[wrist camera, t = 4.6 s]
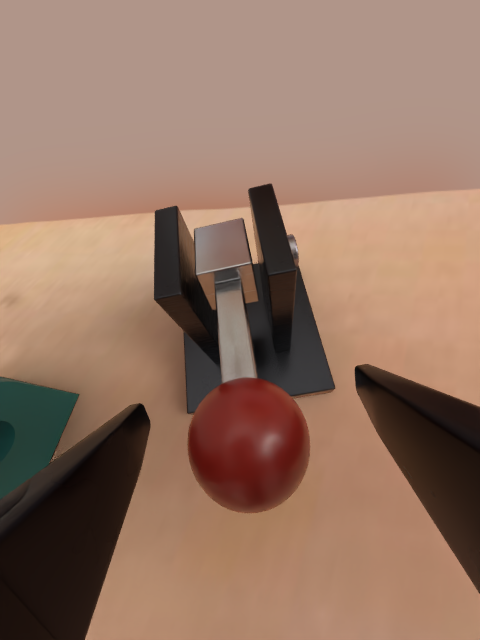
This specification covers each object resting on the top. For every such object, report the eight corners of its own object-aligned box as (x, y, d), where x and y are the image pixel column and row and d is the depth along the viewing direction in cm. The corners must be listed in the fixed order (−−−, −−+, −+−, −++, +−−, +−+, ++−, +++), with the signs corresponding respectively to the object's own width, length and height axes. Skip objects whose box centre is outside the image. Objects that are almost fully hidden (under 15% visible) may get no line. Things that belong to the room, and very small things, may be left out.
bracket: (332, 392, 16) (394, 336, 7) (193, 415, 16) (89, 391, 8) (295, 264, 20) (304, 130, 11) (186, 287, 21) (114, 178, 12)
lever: (320, 499, 8) (337, 509, 5) (209, 514, 8) (163, 532, 5) (263, 262, 13) (255, 202, 10) (200, 276, 13) (175, 221, 11)
